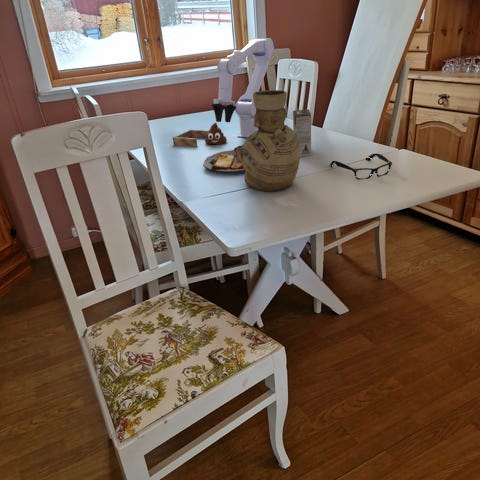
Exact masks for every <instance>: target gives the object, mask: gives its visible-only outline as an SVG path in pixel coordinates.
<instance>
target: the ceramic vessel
mask: <svg viewBox="0 0 480 480" xmlns="http://www.w3.org/2000/svg"><path fill="white" fill-rule="evenodd" d="M287 97H288V93H287V91H285V90H275V89H272V90H271V89H269V90H267V89H266V90H259V91H258V92H254V93H253V101H254V105H255V108H256V114H255V116H254V124H253V125H254V126H255V127H258V131H254V132H253V133H252V134H251V135H250V136H249V137H246V139H244V142H243V143H242V144H241V145H237V146H236V147H234V148H233V150H234V152H235V153H236V162H237V163H241V161H242V164H243V168H244V169H245V170H244V171H245V174H244V178H243V180H244V183H245V184H246V186H248V187H249V188H252V189H255V190H258V191H260V192H261V191H262V192H266V193H267V192H268V193H273V192H279V191H283V190H285V189H288V188H289V187H291V185H292V184H293V183H294V181H295V178H296V177H297V174H298V170H299V168H300V167H299V166H300V162H301V156H300V146H299V141H298V137H297V135H296V133H295V132H294V130H293V128H291V127H290V126H288V125H287V124H285V121H286V119H287V110H286V108H285V106H286V102H287Z"/></svg>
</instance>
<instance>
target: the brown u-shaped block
mask: <svg viewBox="0 0 480 480" xmlns="http://www.w3.org/2000/svg"><path fill="white" fill-rule="evenodd" d="M208 132H209V130H206V129H205V130H203V129H188V130H187V131H184V132H182V133H179V134H177V135H176V136H174V137H173V136H172V141H173V142H172V143H173V146H181V147H182V146H183V147H196V148H197V147H198V141H197V140H198V139H197V138H200V139H206V138H207V136H206V135H207V133H208Z"/></svg>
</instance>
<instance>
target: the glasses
mask: <svg viewBox="0 0 480 480" xmlns="http://www.w3.org/2000/svg"><path fill="white" fill-rule="evenodd" d="M375 156H376V157H377V158H378V159H379V160H381V161H383V162H385V163H384V164H381V165H380V166H378V167H374V168H373V167H372V168H369V167H363V168H362V167H361V168H360V167H359V168H353V167H351V166H349V165H346V164H345V163H344V162H343V163H342V162H340V161H338V160H331V163H330V165H329V167H330V168H333V166H334V164H335V165H336V167H340V168H343V169H346V170H350V171H351V172H353V174H354V177H355V176H357V172H358V171H364V170H365V171H366V170H369V171H370V173H369V175H368V177H364V178H359V177H358V176H357V177H355V179H356V180H368V179H369V180H370V179H371V177H372V176H373V175H374V174H375V173H378V172H379V170H380V169H381V168H383V167H386V166H388V168H387V171H386V172H385V173H383V174H381V175H380V174H379V173H378V174H377V175H376V176H377V177H382V176H383V177H384V176H386V175H387V174H388V173H389V172H390V170H391V168H392V165H393V162H392V161H390V160H389V159H388V158H387V157H385V156H384V155H382V154H380V153H372V154H369V156H367V157H370V158H372V159H373V158H374V157H375ZM367 157H366V158H365V161H368V162H370V161H372V159H370V158H367ZM332 165H333V166H332ZM388 169H390V170H389V171H388ZM370 174H373V175H371V176H370Z"/></svg>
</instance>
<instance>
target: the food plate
mask: <svg viewBox="0 0 480 480" xmlns="http://www.w3.org/2000/svg"><path fill="white" fill-rule="evenodd" d="M202 166H203V167H204V168H205V169H207V170H209V171H213V172H224V173H226V172H228V173H236V172H242V171H245V169H244V168H243V164H242V161H241V163H237V162H236V153H235V152H234V149H231V150H223V151H220V152H215V153H213V154H211V155H209V156H207V157H206V158H205V160H204V162H203V163H202Z"/></svg>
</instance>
